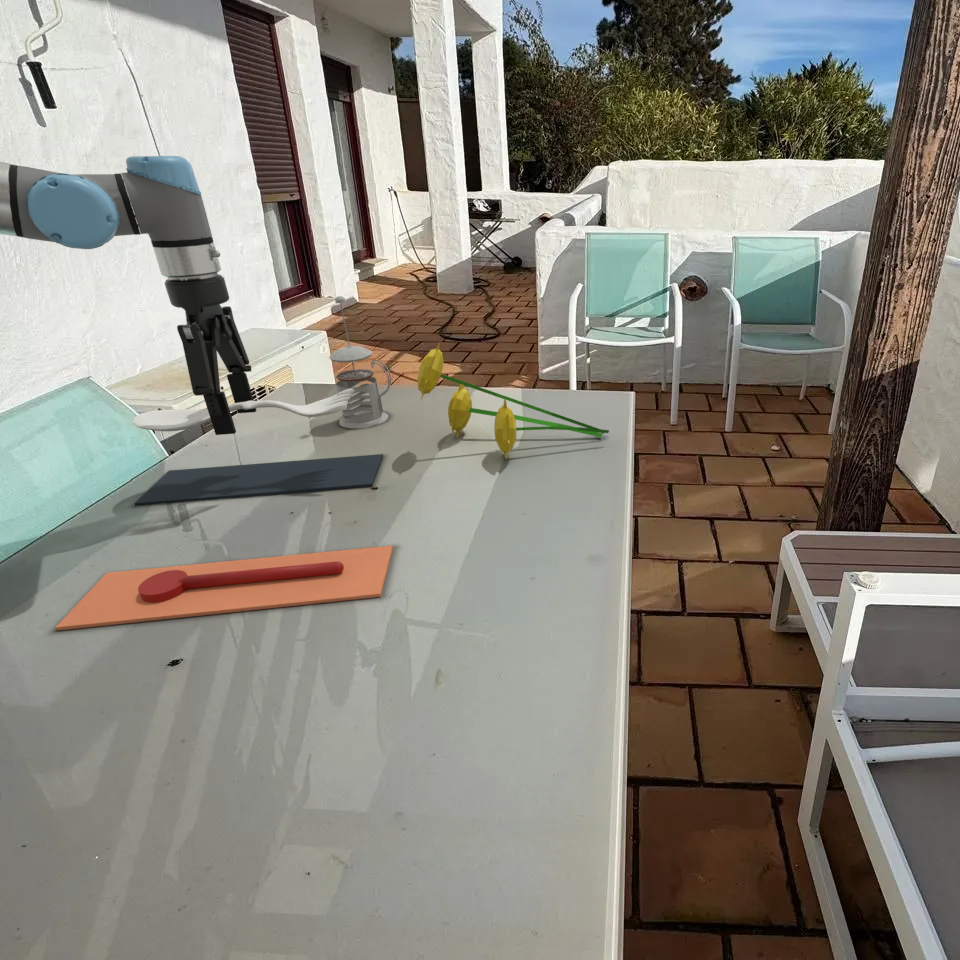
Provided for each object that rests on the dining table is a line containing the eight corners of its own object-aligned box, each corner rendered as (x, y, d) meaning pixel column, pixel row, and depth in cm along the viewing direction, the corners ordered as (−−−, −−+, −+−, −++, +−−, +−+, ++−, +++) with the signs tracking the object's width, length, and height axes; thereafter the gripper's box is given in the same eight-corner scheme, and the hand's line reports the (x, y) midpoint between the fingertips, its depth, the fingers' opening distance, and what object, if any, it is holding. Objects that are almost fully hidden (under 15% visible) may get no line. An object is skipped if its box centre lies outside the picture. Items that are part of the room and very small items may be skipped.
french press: (345, 412, 135) (319, 292, 124) (400, 409, 136) (380, 290, 125) (333, 429, 126) (304, 302, 115) (392, 426, 127) (370, 299, 116)
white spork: (349, 423, 101) (345, 403, 99) (127, 442, 95) (118, 420, 94) (357, 405, 108) (354, 385, 107) (152, 421, 103) (145, 401, 101)
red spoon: (132, 605, 76) (128, 594, 75) (153, 579, 80) (149, 569, 80) (340, 584, 79) (337, 573, 78) (348, 560, 83) (346, 550, 83)
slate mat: (135, 506, 99) (133, 503, 99) (169, 473, 110) (168, 470, 110) (372, 486, 104) (371, 483, 104) (383, 456, 114) (383, 454, 114)
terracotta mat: (56, 630, 73) (54, 627, 72) (108, 575, 82) (106, 572, 82) (380, 597, 77) (379, 593, 77) (393, 548, 87) (392, 545, 87)
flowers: (594, 410, 132) (428, 351, 123) (626, 400, 111) (429, 328, 102) (571, 484, 132) (403, 430, 122) (599, 488, 110) (397, 423, 101)
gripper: (189, 287, 82) (237, 447, 92) (246, 264, 101) (281, 398, 111) (127, 290, 81) (182, 451, 91) (196, 266, 100) (236, 401, 110)
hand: (237, 422), depth 101 cm, fingers closed on white spork, 9 cm apart
